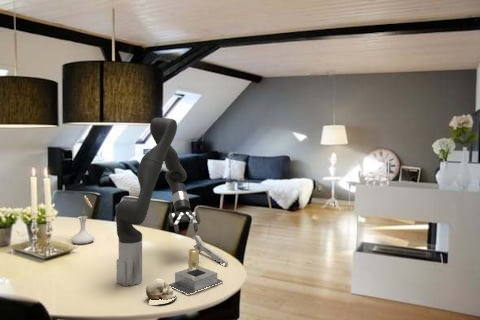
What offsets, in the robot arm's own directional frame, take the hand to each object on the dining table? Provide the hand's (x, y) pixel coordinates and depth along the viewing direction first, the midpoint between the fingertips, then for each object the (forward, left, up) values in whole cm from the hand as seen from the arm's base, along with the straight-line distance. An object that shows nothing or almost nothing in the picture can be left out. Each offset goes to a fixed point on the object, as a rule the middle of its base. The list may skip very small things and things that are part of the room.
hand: (187, 232), depth 186 cm
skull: (-31, -22, -15) cm, 41 cm away
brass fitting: (-5, -10, -15) cm, 19 cm away
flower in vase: (-18, +65, -15) cm, 69 cm away
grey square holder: (-13, -21, -15) cm, 29 cm away
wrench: (+14, 0, -15) cm, 21 cm away
